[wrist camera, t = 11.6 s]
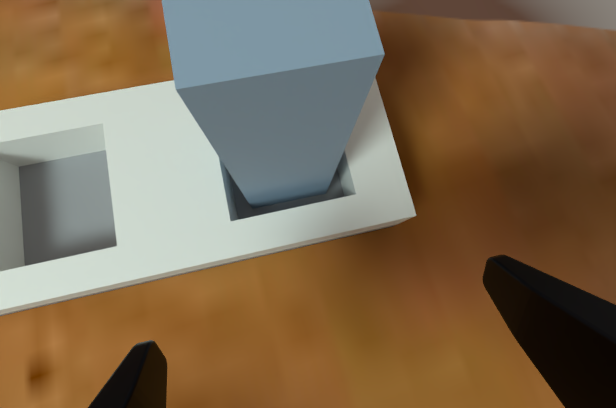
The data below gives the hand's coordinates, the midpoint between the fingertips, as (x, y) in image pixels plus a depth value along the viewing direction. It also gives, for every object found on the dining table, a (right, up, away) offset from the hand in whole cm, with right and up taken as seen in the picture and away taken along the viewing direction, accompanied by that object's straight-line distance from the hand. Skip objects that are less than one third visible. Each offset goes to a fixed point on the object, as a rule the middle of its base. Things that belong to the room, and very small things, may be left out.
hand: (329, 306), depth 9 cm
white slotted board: (-8, +4, +12) cm, 15 cm away
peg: (-2, +5, +11) cm, 13 cm away
